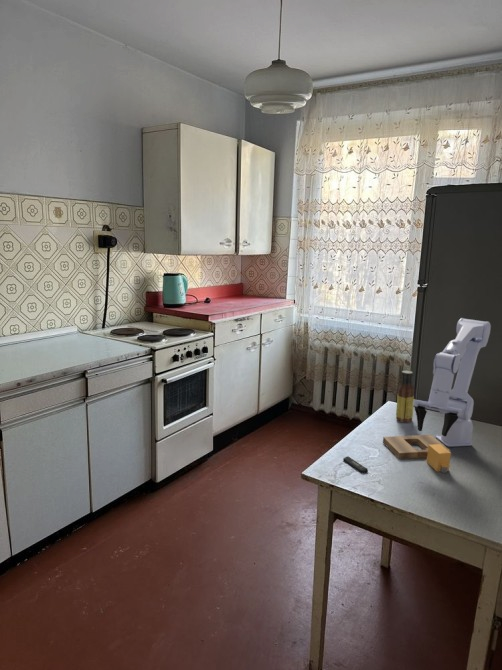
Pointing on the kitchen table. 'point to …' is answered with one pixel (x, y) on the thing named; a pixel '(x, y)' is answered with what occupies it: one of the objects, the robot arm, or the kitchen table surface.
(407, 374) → the sauce bottle
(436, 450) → the block
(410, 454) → the pocket board
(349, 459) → the usb stick
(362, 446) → the kitchen table surface
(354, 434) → the kitchen table surface
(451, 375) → the robot arm
